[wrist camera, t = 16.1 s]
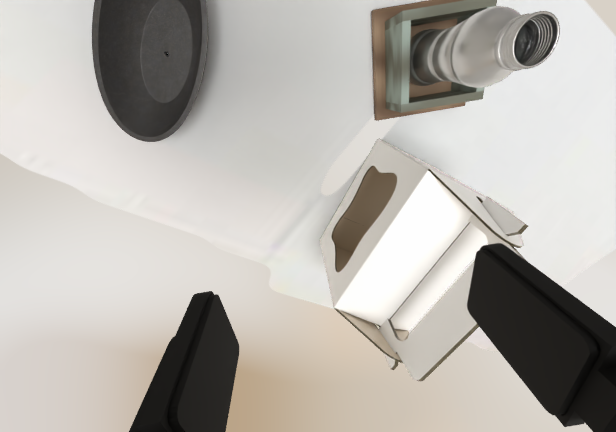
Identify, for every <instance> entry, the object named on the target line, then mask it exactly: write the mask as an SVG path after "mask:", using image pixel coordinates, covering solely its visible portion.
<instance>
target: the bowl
mask: <svg viewBox="0 0 616 432" xmlns="http://www.w3.org/2000/svg"><path fill="white" fill-rule="evenodd" d="M207 43H208V18H207V7H206V0H95V3H94V11H93V22H92V50H93V61H94V68H95V74H96V79H97V83H98V87H99V90H100V93H101V96H102V99H103V101H104V103H105V106H106V108H107V110H108V111H109V113H110V115H111V116H112V118H113V119H114V121H115V122H116V123H117V124H118V126H119V127H120V128H121V129H122V130H124V131H125V132H126V133H127V134H129V135H130V136H132V137H134V138H136V139H138V140H141V141H146V142H155V141H160V140H163V139H165V138H167V137H169V136H170V135H172V134H173V133H174V132H175V131H176V130H177V129H178V128H179V127H180V126H181V125H182V123H183V122H184V121H185V119H186V117H187V116H188V114H189V112H190V110H191V108H192V106H193V104H194V102H195V99H196V96H197V94H198V91H199V88H200V84H201V81H202V77H203V73H204V67H205V62H206V54H207ZM167 52H168V53H169V56H167V55H166V53H167Z"/></svg>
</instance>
